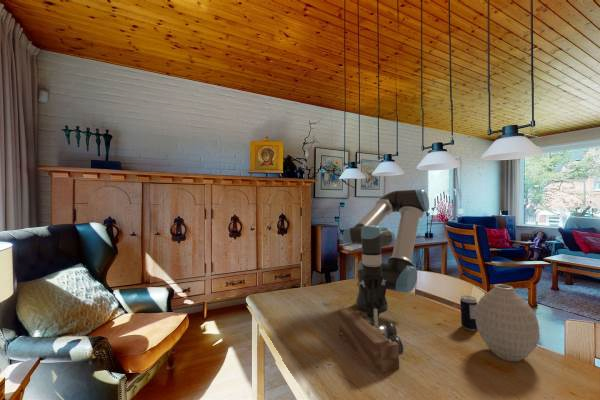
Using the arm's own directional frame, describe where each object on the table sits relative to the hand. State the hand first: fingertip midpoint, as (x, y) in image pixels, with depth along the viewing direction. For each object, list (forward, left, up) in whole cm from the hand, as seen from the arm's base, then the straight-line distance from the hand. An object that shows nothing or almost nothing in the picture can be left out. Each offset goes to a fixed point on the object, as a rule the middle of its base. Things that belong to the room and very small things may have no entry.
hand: (374, 324), depth 101 cm
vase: (-32, +27, -3) cm, 42 cm away
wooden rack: (+8, +9, -3) cm, 12 cm away
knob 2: (+2, +9, -1) cm, 9 cm away
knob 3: (+7, +18, -1) cm, 19 cm away
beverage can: (-37, +9, -3) cm, 38 cm away
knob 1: (+6, 0, -1) cm, 7 cm away
